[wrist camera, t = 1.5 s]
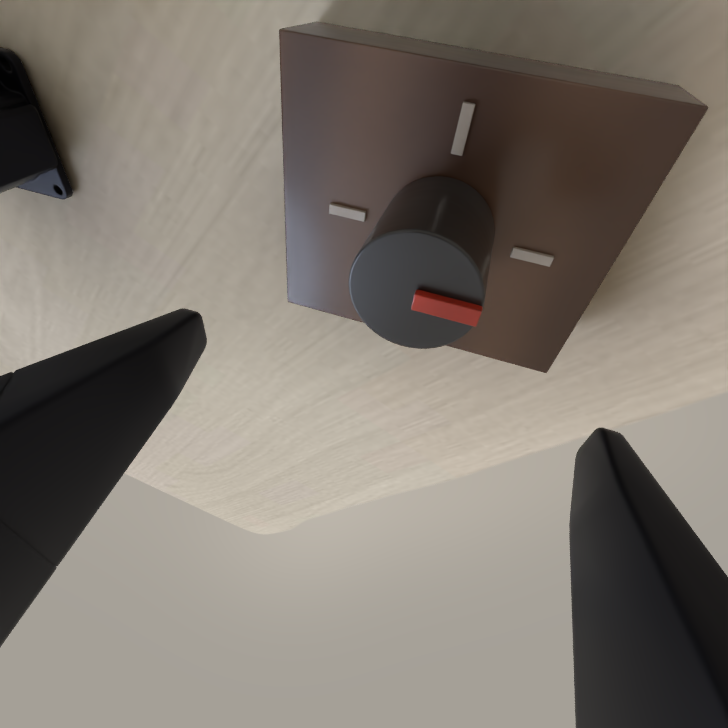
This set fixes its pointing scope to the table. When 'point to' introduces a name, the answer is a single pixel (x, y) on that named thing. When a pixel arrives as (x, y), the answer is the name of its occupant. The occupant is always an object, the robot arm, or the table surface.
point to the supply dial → (425, 264)
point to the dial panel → (471, 168)
